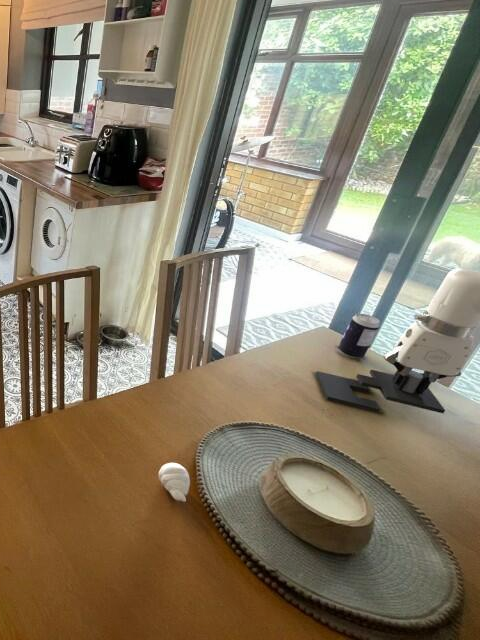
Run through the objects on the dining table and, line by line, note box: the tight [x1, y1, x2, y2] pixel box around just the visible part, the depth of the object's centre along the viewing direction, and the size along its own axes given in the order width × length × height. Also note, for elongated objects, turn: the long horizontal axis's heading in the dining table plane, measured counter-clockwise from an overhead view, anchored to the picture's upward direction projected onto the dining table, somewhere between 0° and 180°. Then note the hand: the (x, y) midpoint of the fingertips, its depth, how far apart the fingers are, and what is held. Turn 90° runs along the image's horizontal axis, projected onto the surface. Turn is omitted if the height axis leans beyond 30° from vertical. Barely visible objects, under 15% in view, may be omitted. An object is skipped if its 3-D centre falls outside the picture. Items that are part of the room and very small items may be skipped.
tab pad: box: [355, 369, 446, 414], centre depth 97 cm, size 14×10×6 cm
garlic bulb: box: [158, 462, 191, 503], centre depth 78 cm, size 6×6×5 cm
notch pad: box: [315, 370, 381, 413], centre depth 102 cm, size 10×10×1 cm
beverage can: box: [337, 313, 381, 359], centre depth 113 cm, size 6×6×12 cm
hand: (406, 387), depth 97 cm, fingers closed on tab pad, 2 cm apart
